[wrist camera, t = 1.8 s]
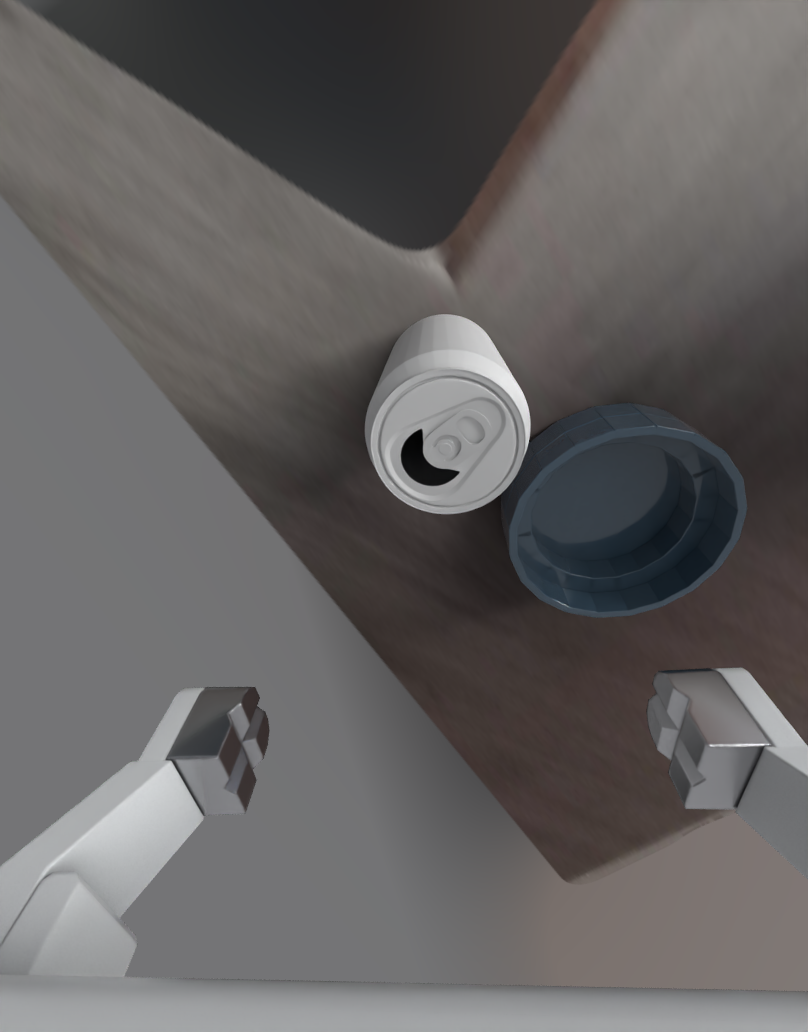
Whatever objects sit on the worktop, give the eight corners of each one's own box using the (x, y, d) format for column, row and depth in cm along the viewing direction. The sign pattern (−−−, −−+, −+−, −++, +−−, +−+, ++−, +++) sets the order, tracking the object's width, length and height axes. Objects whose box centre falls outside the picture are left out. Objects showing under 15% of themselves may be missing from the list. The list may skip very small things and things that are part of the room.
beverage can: (366, 364, 27) (322, 439, 17) (452, 285, 24) (463, 313, 14) (435, 443, 29) (434, 551, 19) (520, 377, 27) (572, 459, 16)
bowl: (725, 388, 26) (774, 412, 22) (686, 567, 33) (719, 611, 29) (496, 414, 28) (506, 441, 24) (503, 580, 34) (511, 623, 31)
